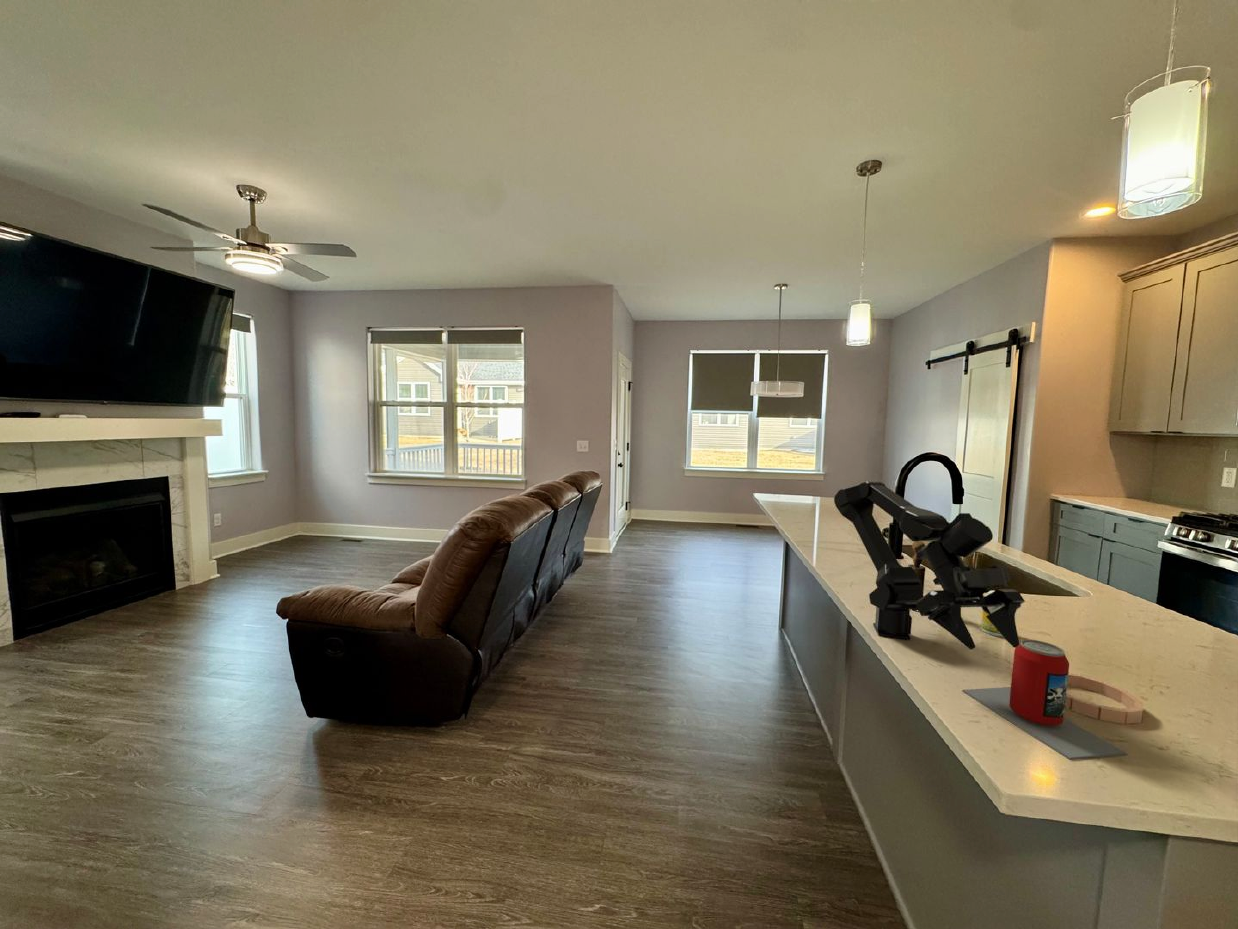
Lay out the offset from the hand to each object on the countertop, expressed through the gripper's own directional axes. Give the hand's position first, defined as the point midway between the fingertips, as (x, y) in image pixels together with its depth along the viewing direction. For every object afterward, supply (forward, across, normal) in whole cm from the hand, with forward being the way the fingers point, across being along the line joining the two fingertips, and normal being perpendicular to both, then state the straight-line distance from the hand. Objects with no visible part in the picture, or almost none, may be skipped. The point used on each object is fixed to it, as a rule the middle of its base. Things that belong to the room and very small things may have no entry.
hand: (995, 647), depth 86 cm
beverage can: (+12, 0, 0) cm, 12 cm away
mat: (+12, 0, 0) cm, 12 cm away
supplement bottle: (-10, +26, +22) cm, 36 cm away
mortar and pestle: (-22, +19, +35) cm, 45 cm away
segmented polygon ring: (+9, +15, +3) cm, 18 cm away
